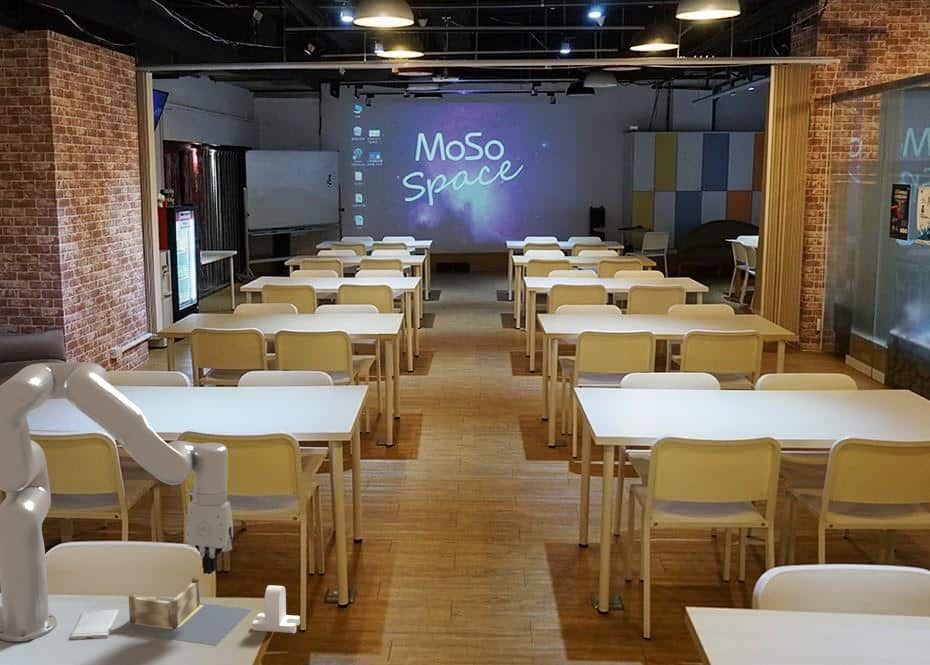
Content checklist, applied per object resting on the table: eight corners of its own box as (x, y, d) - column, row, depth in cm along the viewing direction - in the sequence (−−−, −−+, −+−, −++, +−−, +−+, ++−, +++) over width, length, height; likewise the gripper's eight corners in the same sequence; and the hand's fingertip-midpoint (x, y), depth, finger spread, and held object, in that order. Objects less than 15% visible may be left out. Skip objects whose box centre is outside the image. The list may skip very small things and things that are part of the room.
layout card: (115, 632, 219) (115, 630, 219) (157, 598, 236) (157, 597, 236) (216, 646, 213) (216, 645, 213) (252, 610, 230) (252, 609, 230)
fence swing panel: (176, 627, 220) (175, 600, 219) (169, 627, 220) (168, 600, 219) (201, 603, 232) (200, 577, 231) (194, 602, 232) (193, 576, 231)
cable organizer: (259, 620, 226) (258, 580, 224) (300, 623, 225) (300, 583, 223) (252, 631, 220) (251, 590, 219) (294, 634, 219) (293, 593, 218)
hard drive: (82, 610, 226) (69, 636, 214) (119, 609, 228) (107, 634, 216) (83, 617, 227) (69, 643, 215) (119, 615, 228) (108, 641, 216)
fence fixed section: (128, 623, 222) (127, 597, 221) (132, 619, 224) (131, 593, 223) (167, 628, 220) (166, 602, 219) (171, 625, 222) (170, 599, 221)
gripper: (172, 497, 221) (172, 573, 224) (232, 506, 217) (231, 582, 220) (189, 487, 228) (188, 561, 231) (247, 495, 225) (246, 570, 228)
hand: (209, 571), depth 226 cm, fingers closed
